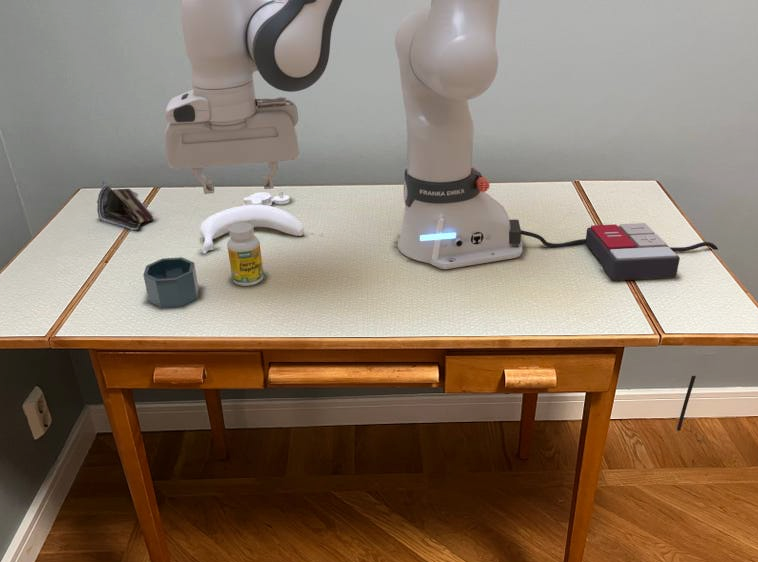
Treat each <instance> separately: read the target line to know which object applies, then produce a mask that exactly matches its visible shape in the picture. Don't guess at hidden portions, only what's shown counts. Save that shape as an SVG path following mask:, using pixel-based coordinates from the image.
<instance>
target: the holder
mask: <svg viewBox="0 0 758 562" xmlns="http://www.w3.org/2000/svg"><path fill="white" fill-rule="evenodd" d="M196 269H197V268H196V264H195V262H194V261H192V260H189V259H187V258H185V257H182V256H180V257H179V256H178V257H166V258H165V257H164V258H161V259H158V260H156V261H153V262H151V263H149V264H147V265H146V266H145V269H144V271H143V280H144V284H145V290H146V293H147V299H148V302H149V303H150V304H152V305H154V306H156V307H159V308H160V309H166V308H167V309H169V308H181V307H184V306H185V305H188V304H190V303H193V301H196V300H198V296H199V291H200V287H199V281H198V275H197V270H196Z"/></svg>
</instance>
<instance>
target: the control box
mask: <svg viewBox="0 0 758 562" xmlns="http://www.w3.org/2000/svg"><path fill="white" fill-rule="evenodd" d="M585 239H586V243H585V245H587V247H588V249H590V251H591V252H592V254H593V255H594V256H595V258H597V260H598V261H599V262H600V263H601V264H602V266H603V270H604V272H605V273H606V275H607V276H608V277H609V278H610V280H612V281H630V280H631V281H632V280H633V281H634V280H651V279H653V280H654V279H670V278H671V279H672V278H676V277H677V274H678V269H679V266H680V265H679V264H680V259H681V257H680V256H679V255H678V254H677V253H676V252H674V251H672V250H671V249H670V248H669V246H668V245H667V242H666V241H665V240H664V239H662V238H661V236H659V235H658V234H656V233H655V231H654V230H653V229H652V228H651V227H650V226H649V225H648V224H647V223H645V222H637V223H620V224H619V225H617V224H597V225H596V224H595V225H594V224H593V225H590V227H587V228H586V234H585Z"/></svg>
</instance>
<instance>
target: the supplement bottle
mask: <svg viewBox="0 0 758 562" xmlns="http://www.w3.org/2000/svg"><path fill="white" fill-rule="evenodd" d="M254 228H255V227H253V225H252V224H249V223H237V224H234V225H232V226H230V228H229V233H228V234H229V237H230V238H228V240H227V244H226V246H227V254H228V261H229V266H230V273H231V280H232V282H233V283H234V284H236V285H238V286H241V287H242V286H243V287H247V286H254V285H256V284H258V283H260V282H261V281H262V280H263V279H264V268H263V259H262V251H261V243H260V239H259V238H258V237H257V236H256V235H255V229H254Z"/></svg>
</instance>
